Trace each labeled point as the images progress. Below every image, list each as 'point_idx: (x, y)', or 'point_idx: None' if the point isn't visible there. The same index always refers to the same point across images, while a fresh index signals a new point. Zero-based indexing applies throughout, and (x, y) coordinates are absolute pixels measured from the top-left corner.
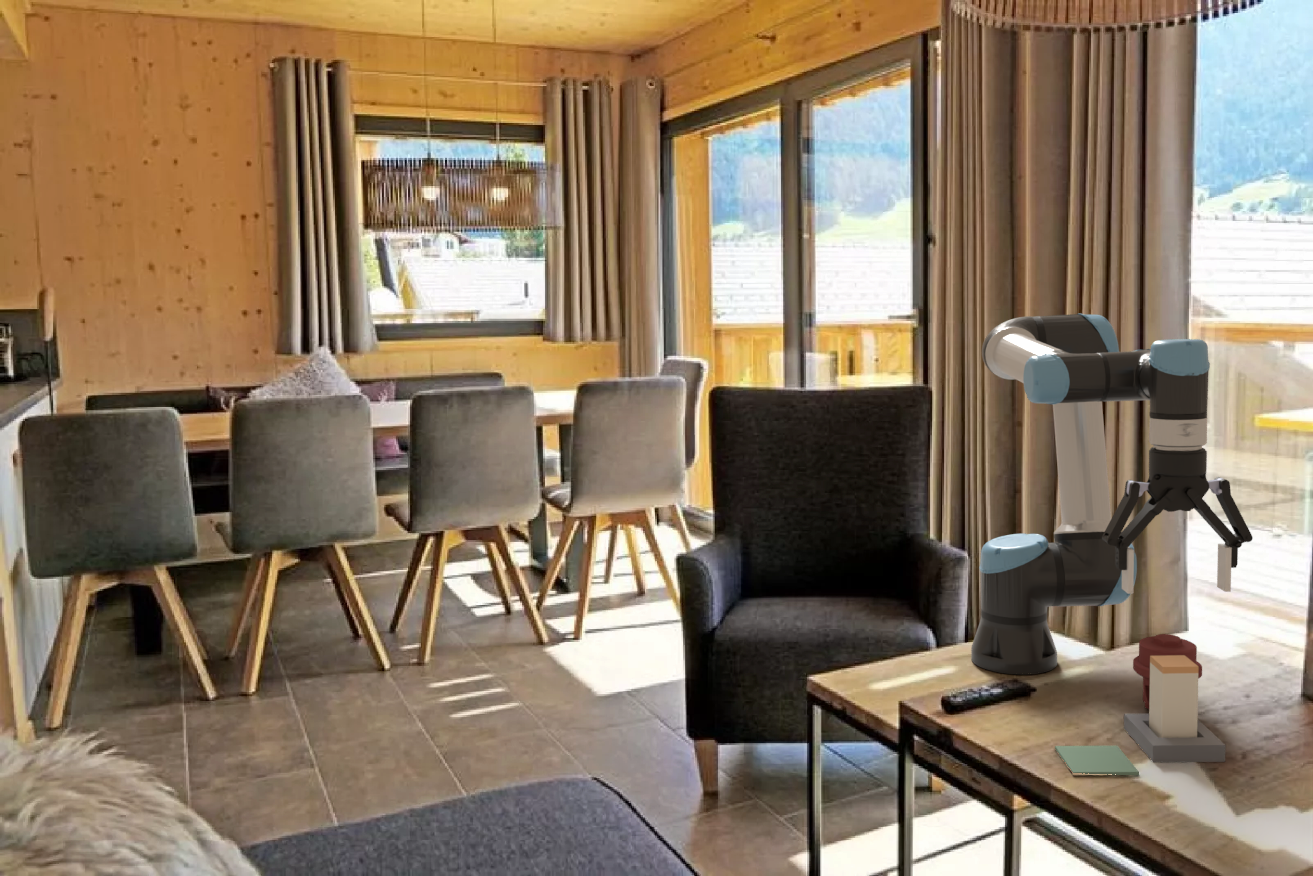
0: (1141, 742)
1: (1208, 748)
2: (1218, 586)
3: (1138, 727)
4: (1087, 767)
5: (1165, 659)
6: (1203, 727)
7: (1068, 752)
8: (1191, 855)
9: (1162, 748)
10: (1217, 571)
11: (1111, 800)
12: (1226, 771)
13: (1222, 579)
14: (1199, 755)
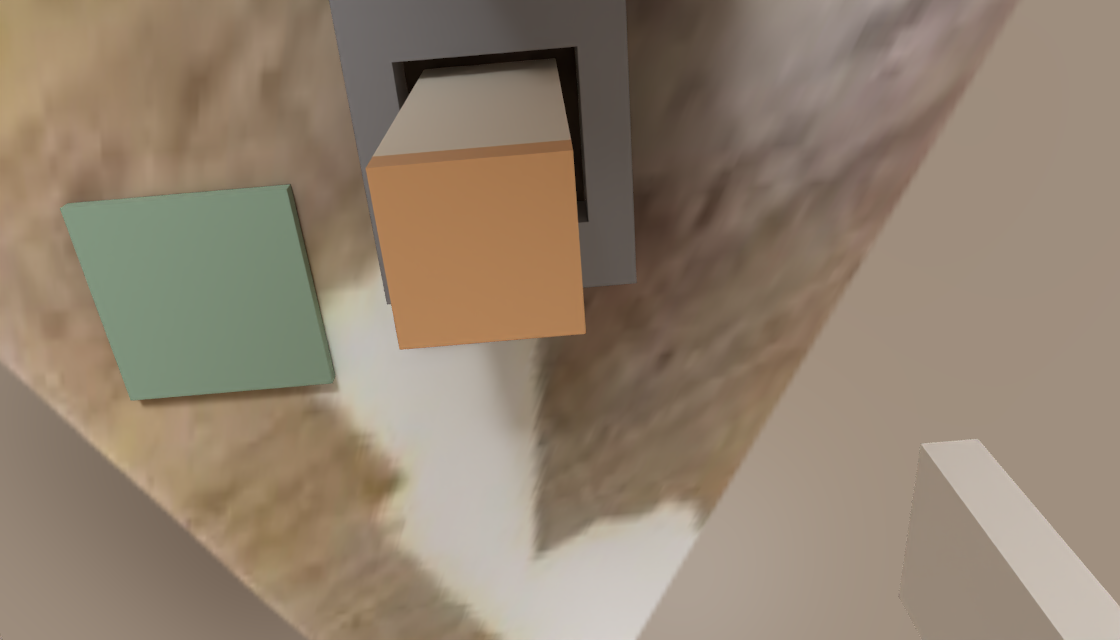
0: None
1: None
2: (921, 484)
3: (363, 141)
4: (175, 366)
5: (440, 232)
6: (618, 125)
7: (111, 259)
8: None
9: None
10: (1013, 576)
11: (240, 513)
12: (607, 324)
13: (957, 635)
14: None
